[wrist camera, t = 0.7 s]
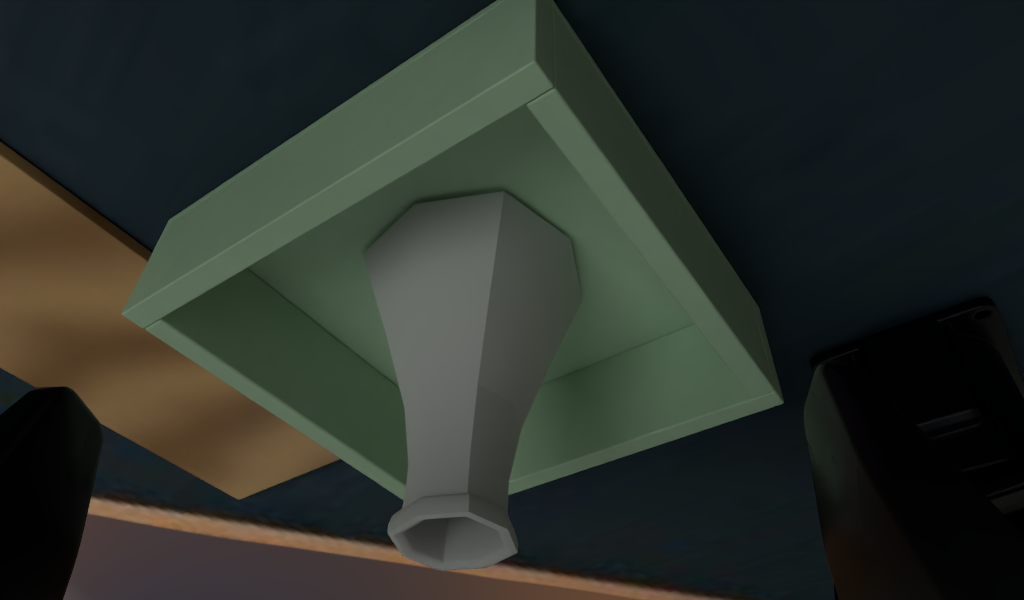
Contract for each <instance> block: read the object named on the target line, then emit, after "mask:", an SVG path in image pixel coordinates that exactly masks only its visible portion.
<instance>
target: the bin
mask: <svg viewBox="0 0 1024 600" xmlns="http://www.w3.org/2000/svg"><path fill="white" fill-rule="evenodd" d="M502 191H505V192H506V193H507V194H509V195H510V196H512V197H513V198H514V199H516V200H517V201H519V202H520V203H521V204H523V205H524V206H525V207H527V208H528V209H530V210H531V211H532V212H534V213H535V214H537V215H538V216H539V217H541V218H542V219H543V220H545V221H546V222H548V223H549V224H550V225H552V226H553V227H555V228H556V229H557V230H559V231H560V232H561V233H563V234H564V235H566V236H567V237H568V238H570V239H571V244H572V249H573V255H574V260H575V265H576V270H577V275H578V280H579V285H580V291H581V296H582V301H581V303H580V305H579V308H578V310H577V312H576V314H575V316H574V319H573V321H572V323H571V324H570V326H569V328H568V330H567V332H566V334H565V336H564V338H563V340H562V342H561V344H560V346H559V348H558V350H557V352H556V354H555V356H554V358H553V360H552V362H551V364H550V366H549V368H548V370H547V373H546V375H545V377H544V379H543V382H542V384H541V386H540V388H539V391H538V393H537V395H536V397H535V400H534V402H533V404H532V406H531V409H530V411H529V413H528V415H527V418H526V420H525V422H524V424H523V427H522V429H521V433H520V437H519V441H518V446H517V450H516V454H515V458H514V462H513V466H512V471H511V475H510V479H509V491H508V495H510V494H513V493H516V492H519V491H522V490H525V489H528V488H531V487H534V486H537V485H540V484H543V483H546V482H549V481H552V480H555V479H558V478H561V477H564V476H567V475H570V474H573V473H576V472H579V471H582V470H585V469H588V468H591V467H594V466H597V465H600V464H603V463H606V462H609V461H612V460H615V459H618V458H621V457H624V456H627V455H630V454H633V453H636V452H639V451H642V450H645V449H648V448H651V447H654V446H657V445H660V444H663V443H666V442H669V441H672V440H675V439H678V438H681V437H684V436H687V435H690V434H693V433H696V432H699V431H702V430H705V429H708V428H711V427H714V426H717V425H720V424H724V423H727V422H730V421H733V420H736V419H739V418H742V417H745V416H748V415H751V414H754V413H757V412H760V411H763V410H766V409H769V408H772V407H775V406H778V405H781V404H783V403H784V400H783V396H782V393H781V389H780V385H779V381H778V378H777V374H776V370H775V366H774V363H773V359H772V355H771V351H770V348H769V344H768V340H767V336H766V333H765V329H764V325H763V321H762V318H761V314H760V309H759V307H758V305H757V304H756V302H755V301H754V299H753V298H752V296H751V295H750V293H749V292H748V290H747V289H746V287H745V286H744V284H743V283H742V281H741V280H740V278H739V277H738V275H737V274H736V272H735V271H734V269H733V268H732V266H731V265H730V263H729V262H728V260H727V259H726V257H725V256H724V254H723V253H722V251H721V250H720V248H719V247H718V245H717V244H716V242H715V241H714V239H713V238H712V236H711V235H710V233H709V232H708V230H707V229H706V227H705V226H704V224H703V223H702V221H701V220H700V218H699V217H698V215H697V214H696V213H695V211H694V210H693V208H692V207H691V205H690V204H689V202H688V201H687V199H686V198H685V196H684V195H683V193H682V192H681V190H680V189H679V187H678V186H677V184H676V183H675V181H674V180H673V178H672V177H671V175H670V174H669V172H668V171H667V169H666V168H665V166H664V165H663V163H662V162H661V160H660V159H659V157H658V156H657V154H656V153H655V151H654V150H653V148H652V147H651V145H650V144H649V142H648V141H647V139H646V138H645V136H644V135H643V133H642V132H641V130H640V129H639V127H638V126H637V124H636V123H635V121H634V120H633V118H632V117H631V116H630V114H629V113H628V111H627V110H626V108H625V107H624V105H623V104H622V102H621V101H620V99H619V98H618V96H617V95H616V93H615V92H614V90H613V89H612V87H611V86H610V84H609V83H608V81H607V80H606V78H605V77H604V75H603V74H602V72H601V71H600V69H599V68H598V66H597V65H596V63H595V62H594V60H593V59H592V57H591V56H590V54H589V53H588V51H587V50H586V48H585V47H584V45H583V44H582V42H581V41H580V39H579V38H578V36H577V35H576V33H575V32H574V30H573V29H572V27H571V26H570V24H569V23H568V21H567V20H566V18H565V17H564V16H563V14H562V13H561V11H560V10H559V8H558V7H557V5H556V4H555V2H554V1H553V0H497V1H495V2H494V3H492V4H491V5H489V6H488V7H486V8H485V9H483V10H482V11H480V12H479V13H477V14H476V15H474V16H473V17H471V18H470V19H468V20H467V21H465V22H464V23H462V24H461V25H459V26H458V27H456V28H455V29H453V30H452V31H450V32H449V33H447V34H446V35H444V36H443V37H441V38H440V39H438V40H437V41H435V42H434V43H432V44H431V45H429V46H428V47H426V48H425V49H423V50H422V51H420V52H419V53H417V54H416V55H414V56H413V57H411V58H410V59H408V60H407V61H405V62H404V63H402V64H401V65H399V66H398V67H396V68H395V69H393V70H392V71H390V72H389V73H388V74H386V75H385V76H383V77H382V78H380V79H379V80H377V81H376V82H374V83H373V84H371V85H370V86H368V87H367V88H365V89H364V90H362V91H361V92H359V93H358V94H356V95H355V96H353V97H352V98H350V99H349V100H347V101H346V102H344V103H343V104H341V105H340V106H338V107H337V108H335V109H334V110H332V111H331V112H329V113H328V114H326V115H325V116H323V117H322V118H320V119H319V120H317V121H316V122H314V123H313V124H311V125H310V126H308V127H307V128H305V129H304V130H302V131H301V132H299V133H298V134H296V135H295V136H293V137H292V138H290V139H289V140H287V141H286V142H284V143H283V144H281V145H280V146H278V147H277V148H275V149H274V150H272V151H271V152H269V153H268V154H267V155H265V156H264V157H262V158H261V159H259V160H258V161H256V162H255V163H253V164H252V165H250V166H249V167H247V168H246V169H244V170H243V171H241V172H240V173H238V174H237V175H235V176H234V177H232V178H231V179H229V180H228V181H226V182H225V183H223V184H222V185H220V186H219V187H217V188H216V189H214V190H213V191H211V192H210V193H208V194H207V195H205V196H204V197H202V198H201V199H199V200H198V201H196V202H195V203H193V204H192V205H190V206H189V207H187V208H186V209H184V210H183V211H181V212H180V213H178V214H177V215H175V216H174V217H172V218H171V219H169V221H168V223H167V226H166V227H165V229H164V231H163V233H162V235H161V237H160V239H159V241H158V243H157V245H156V247H155V249H154V251H153V253H152V254H151V256H150V258H149V260H148V262H147V264H146V266H145V268H144V270H143V272H142V274H141V276H140V278H139V280H138V282H137V284H136V286H135V288H134V290H133V292H132V294H131V296H130V298H129V299H128V301H127V303H126V305H125V307H124V309H123V311H122V315H123V316H124V317H126V318H127V319H129V320H130V321H132V322H133V323H135V324H136V325H138V326H139V327H141V328H145V327H146V328H145V329H146V331H148V332H149V333H151V334H152V335H154V336H155V337H157V338H158V339H160V340H162V341H163V342H165V343H166V344H168V345H169V346H171V347H172V348H174V349H175V350H177V351H178V352H180V353H181V354H183V355H184V356H186V357H187V358H189V359H190V360H192V361H193V362H195V363H196V364H198V365H199V366H201V367H202V368H204V369H205V370H207V371H208V372H210V373H212V374H213V375H215V376H216V377H218V378H219V379H221V380H222V381H224V382H225V383H227V384H228V385H230V386H231V387H233V388H234V389H236V390H237V391H239V392H240V393H242V394H243V395H245V396H246V397H248V398H249V399H251V400H252V401H254V402H255V403H257V404H258V405H260V406H262V407H263V408H265V409H266V410H268V411H269V412H271V413H272V414H274V415H275V416H277V417H278V418H280V419H281V420H283V421H284V422H286V423H287V424H289V425H290V426H292V427H293V428H295V429H296V430H298V431H299V432H301V433H302V434H304V435H305V436H307V437H308V438H310V439H312V440H313V441H315V442H316V443H318V444H319V445H321V446H322V447H324V448H325V449H327V450H328V451H330V452H331V453H333V454H334V455H336V456H337V457H339V458H340V459H342V460H343V461H345V462H346V463H348V464H349V465H351V466H352V467H354V468H355V469H357V470H358V471H360V472H362V473H363V474H365V475H366V476H368V477H369V478H371V479H372V480H374V481H375V482H377V483H378V484H380V485H381V486H383V487H384V488H386V489H387V490H389V491H390V492H392V493H393V494H395V495H396V496H398V497H399V498H401V499H402V500H404V499H405V490H406V481H407V473H408V451H407V437H406V423H405V409H404V404H403V400H402V396H401V392H400V388H399V384H398V380H397V376H396V372H395V368H394V364H393V360H392V356H391V352H390V348H389V344H388V340H387V336H386V332H385V329H384V325H383V322H382V319H381V315H380V312H379V308H378V305H377V302H376V298H375V295H374V292H373V288H372V285H371V281H370V278H369V274H368V271H367V267H366V263H365V259H364V255H363V253H364V252H365V251H366V250H367V249H368V248H369V247H370V246H371V245H372V244H373V243H374V242H375V241H377V240H378V239H379V238H380V237H381V236H382V235H383V234H384V233H385V232H386V231H387V230H388V229H389V228H390V227H391V226H392V225H393V224H394V223H395V222H396V221H397V220H398V219H399V218H401V217H402V216H403V215H404V214H405V213H406V212H407V211H408V210H409V209H410V208H411V207H412V206H413V205H414V204H419V203H425V202H432V201H439V200H446V199H453V198H460V197H467V196H474V195H481V194H488V193H495V192H502Z"/></svg>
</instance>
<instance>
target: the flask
mask: <svg viewBox="0 0 1024 600" xmlns="http://www.w3.org/2000/svg"><path fill="white" fill-rule="evenodd" d="M363 255H364V259H365V263H366V267H367V271H368V274H369V278H370V281H371V285H372V288H373V292H374V295H375V298H376V302H377V305H378V308H379V312H380V315H381V319H382V322H383V325H384V329H385V332H386V336H387V340H388V344H389V348H390V352H391V356H392V360H393V364H394V368H395V372H396V376H397V380H398V384H399V388H400V392H401V396H402V400H403V404H404V409H405V423H406V437H407V451H408V473H407V481H406V490H405V499H404V503H403V506H402V509H401V510H400V511H398V512H396V513H395V514H394V515H393V516H392V517H391V520H390V522H389V524H388V535H389V536H390V538H391V539H392V541H393V542H394V544H395V545H396V547H397V548H398V550H399V551H400V553H401V554H402V556H404V557H406V558H409V559H411V560H414V561H417V562H419V563H422V564H424V565H427V566H429V567H432V568H434V569H437V570H439V571H447V570H462V569H478V568H487V567H489V566H491V565H493V564H495V563H497V562H499V561H501V560H503V559H505V558H507V557H509V556H512V555H514V554H516V553H518V541H517V537H516V534H515V531H514V529H513V526H512V524H511V522H510V519H509V517H508V514H507V511H508V491H509V479H510V475H511V471H512V466H513V462H514V458H515V454H516V450H517V446H518V441H519V437H520V433H521V429H522V427H523V424H524V422H525V420H526V418H527V415H528V413H529V411H530V409H531V406H532V404H533V402H534V400H535V397H536V395H537V393H538V391H539V388H540V386H541V384H542V382H543V379H544V377H545V375H546V373H547V370H548V368H549V366H550V364H551V362H552V360H553V358H554V356H555V354H556V352H557V350H558V348H559V346H560V344H561V342H562V340H563V338H564V336H565V334H566V332H567V330H568V328H569V326H570V324H571V323H572V321H573V319H574V316H575V314H576V312H577V310H578V308H579V305H580V303H581V301H582V296H581V291H580V285H579V280H578V275H577V270H576V265H575V260H574V255H573V249H572V244H571V239H570V238H568V237H567V236H566V235H564V234H563V233H561V232H560V231H559V230H557V229H556V228H555V227H553V226H552V225H550V224H549V223H548V222H546V221H545V220H543V219H542V218H541V217H539V216H538V215H537V214H535V213H534V212H532V211H531V210H530V209H528V208H527V207H525V206H524V205H523V204H521V203H520V202H519V201H517V200H516V199H514V198H513V197H512V196H510V195H509V194H507V193H506V192H505V191H502V192H495V193H488V194H481V195H474V196H467V197H460V198H453V199H446V200H439V201H432V202H425V203H419V204H414V205H413V206H412V207H411V208H410V209H409V210H408V211H407V212H406V213H405V214H404V215H403V216H402V217H401V218H399V219H398V220H397V221H396V222H395V223H394V224H393V225H392V226H391V227H390V228H389V229H388V230H387V231H386V232H385V233H384V234H383V235H382V236H381V237H380V238H379V239H378V240H377V241H375V242H374V243H373V244H372V245H371V246H370V247H369V248H368V249H367V250H366V251H365V252H364V253H363Z"/></svg>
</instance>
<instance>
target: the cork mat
mask: <svg viewBox="0 0 1024 600" xmlns="http://www.w3.org/2000/svg"><path fill="white" fill-rule="evenodd" d="M151 254H152V252H151V251H149V250H148V249H146V248H145V247H144V246H142V245H141V244H140V243H138V242H137V241H136V240H134V239H133V238H131V237H130V236H129V235H127V234H126V233H125V232H123V231H122V230H121V229H119V228H118V227H116V226H115V225H114V224H112V223H111V222H110V221H108V220H107V219H106V218H104V217H103V216H101V215H100V214H99V213H97V212H96V211H95V210H93V209H92V208H91V207H89V206H88V205H86V204H85V203H84V202H82V201H81V200H80V199H78V198H77V197H76V196H74V195H73V194H71V193H70V192H69V191H67V190H66V189H65V188H63V187H62V186H61V185H59V184H58V183H56V182H55V181H54V180H52V179H51V178H50V177H48V176H47V175H46V174H44V173H43V172H41V171H40V170H39V169H37V168H36V167H35V166H33V165H32V164H31V163H29V162H28V161H26V160H25V159H24V158H22V157H21V156H20V155H18V154H17V153H15V152H14V151H13V150H11V149H10V148H9V147H7V146H6V145H5V144H3V143H2V142H0V368H2V369H4V370H6V371H7V372H9V373H11V374H13V375H15V376H16V377H18V378H20V379H22V380H24V381H25V382H27V383H29V384H31V385H33V386H34V387H36V388H39V387H57V386H65V387H69V388H71V389H73V390H74V391H75V392H76V393H77V394H78V395H79V397H80V398H81V399H82V400H83V402H84V403H85V404H86V405H87V407H88V408H89V409H90V410H91V412H92V413H93V414H94V415H95V417H96V418H97V419H98V420H99V422H100V423H101V424H103V425H105V426H106V427H108V428H110V429H112V430H114V431H115V432H117V433H119V434H121V435H123V436H124V437H126V438H128V439H130V440H132V441H133V442H135V443H137V444H139V445H141V446H143V447H144V448H146V449H148V450H150V451H152V452H153V453H155V454H157V455H159V456H161V457H162V458H164V459H166V460H168V461H170V462H171V463H173V464H175V465H177V466H179V467H180V468H182V469H184V470H186V471H188V472H189V473H191V474H193V475H195V476H197V477H198V478H200V479H202V480H204V481H206V482H207V483H209V484H211V485H213V486H215V487H216V488H218V489H220V490H222V491H224V492H225V493H227V494H229V495H231V496H233V497H234V498H236V499H238V500H240V499H242V498H245V497H247V496H250V495H252V494H255V493H257V492H260V491H262V490H264V489H267V488H269V487H272V486H274V485H277V484H279V483H282V482H284V481H287V480H289V479H292V478H294V477H297V476H299V475H302V474H304V473H307V472H309V471H312V470H314V469H317V468H319V467H322V466H324V465H327V464H329V463H332V462H334V461H337V460H339V459H340V458H339V457H337V456H336V455H334V454H333V453H331V452H330V451H328V450H327V449H325V448H324V447H322V446H321V445H319V444H318V443H316V442H315V441H313V440H312V439H310V438H308V437H307V436H305V435H304V434H302V433H301V432H299V431H298V430H296V429H295V428H293V427H292V426H290V425H289V424H287V423H286V422H284V421H283V420H281V419H280V418H278V417H277V416H275V415H274V414H272V413H271V412H269V411H268V410H266V409H265V408H263V407H262V406H260V405H258V404H257V403H255V402H254V401H252V400H251V399H249V398H248V397H246V396H245V395H243V394H242V393H240V392H239V391H237V390H236V389H234V388H233V387H231V386H230V385H228V384H227V383H225V382H224V381H222V380H221V379H219V378H218V377H216V376H215V375H213V374H212V373H210V372H208V371H207V370H205V369H204V368H202V367H201V366H199V365H198V364H196V363H195V362H193V361H192V360H190V359H189V358H187V357H186V356H184V355H183V354H181V353H180V352H178V351H177V350H175V349H174V348H172V347H171V346H169V345H168V344H166V343H165V342H163V341H162V340H160V339H158V338H157V337H155V336H154V335H152V334H151V333H149V332H148V331H146V329H145V328H146V327H145V328H141V327H139V326H138V325H136V324H135V323H133V322H132V321H130V320H129V319H127V318H126V317H124V316H123V315H122V311H123V309H124V307H125V305H126V303H127V301H128V299H129V298H130V296H131V294H132V292H133V290H134V288H135V286H136V284H137V282H138V280H139V278H140V276H141V274H142V272H143V270H144V268H145V266H146V264H147V262H148V260H149V258H150V256H151Z"/></svg>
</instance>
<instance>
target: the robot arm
mask: <svg viewBox="0 0 1024 600" xmlns="http://www.w3.org/2000/svg"><path fill="white" fill-rule="evenodd" d="M810 365H811V368H812V371H813V374H814V376H813V380H812V383H811V386H810V390H809V393H808V396H807V400H806V403H805V407H804V426H805V432H806V439H807V445H808V451H809V457H810V463H811V470H812V476H813V482H814V488H815V495H816V501H817V507H818V513H819V520H820V526H821V532H822V537H823V543H824V548H825V552H826V555H827V559H828V563H829V567H830V571H831V574H832V578H833V581H834V592H835V600H1024V381H1023V378H1022V375H1021V373H1020V370H1019V367H1018V364H1017V361H1016V359H1015V356H1014V353H1013V350H1012V348H1011V345H1010V342H1009V339H1008V336H1007V334H1006V331H1005V328H1004V325H1003V323H1002V320H1001V317H1000V314H999V311H998V309H997V307H996V305H995V304H994V302H993V301H992V299H990V298H987V297H980V298H975V299H972V300H970V301H967V302H964V303H961V304H958V305H955V306H953V307H950V308H947V309H944V310H941V311H939V312H936V313H933V314H930V315H927V316H924V317H922V318H919V319H916V320H913V321H910V322H907V323H905V324H902V325H899V326H896V327H893V328H890V329H888V330H885V331H882V332H879V333H876V334H873V335H871V336H868V337H865V338H862V339H859V340H857V341H854V342H851V343H848V344H845V345H842V346H840V347H837V348H834V349H831V350H828V351H825V352H823V353H820V354H818V355H816V356H814V357H813V358H812V359H811V361H810ZM102 445H103V429H102V426H101V424H100V422H99V420H98V419H97V418H96V417H95V415H94V414H93V413H92V412H91V410H90V409H89V408H88V407H87V405H86V404H85V403H84V402H83V400H82V399H81V398H80V397H79V395H78V394H77V393H76V392H75V391H74V390H73V389H71V388H69V387H65V386H57V387H39V388H35V389H33V390H31V391H29V392H28V393H27V394H25V395H24V396H23V397H22V398H20V399H19V400H18V401H17V402H16V403H14V404H13V405H12V406H11V407H9V408H8V409H7V410H6V411H5V412H3V413H2V414H1V415H0V600H63V597H64V595H65V592H66V589H67V586H68V583H69V580H70V577H71V574H72V571H73V568H74V564H75V561H76V558H77V554H78V551H79V547H80V543H81V539H82V534H83V531H84V526H85V522H86V517H87V513H88V508H89V504H90V499H91V495H92V490H93V486H94V481H95V476H96V472H97V467H98V463H99V458H100V454H101V449H102Z"/></svg>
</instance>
